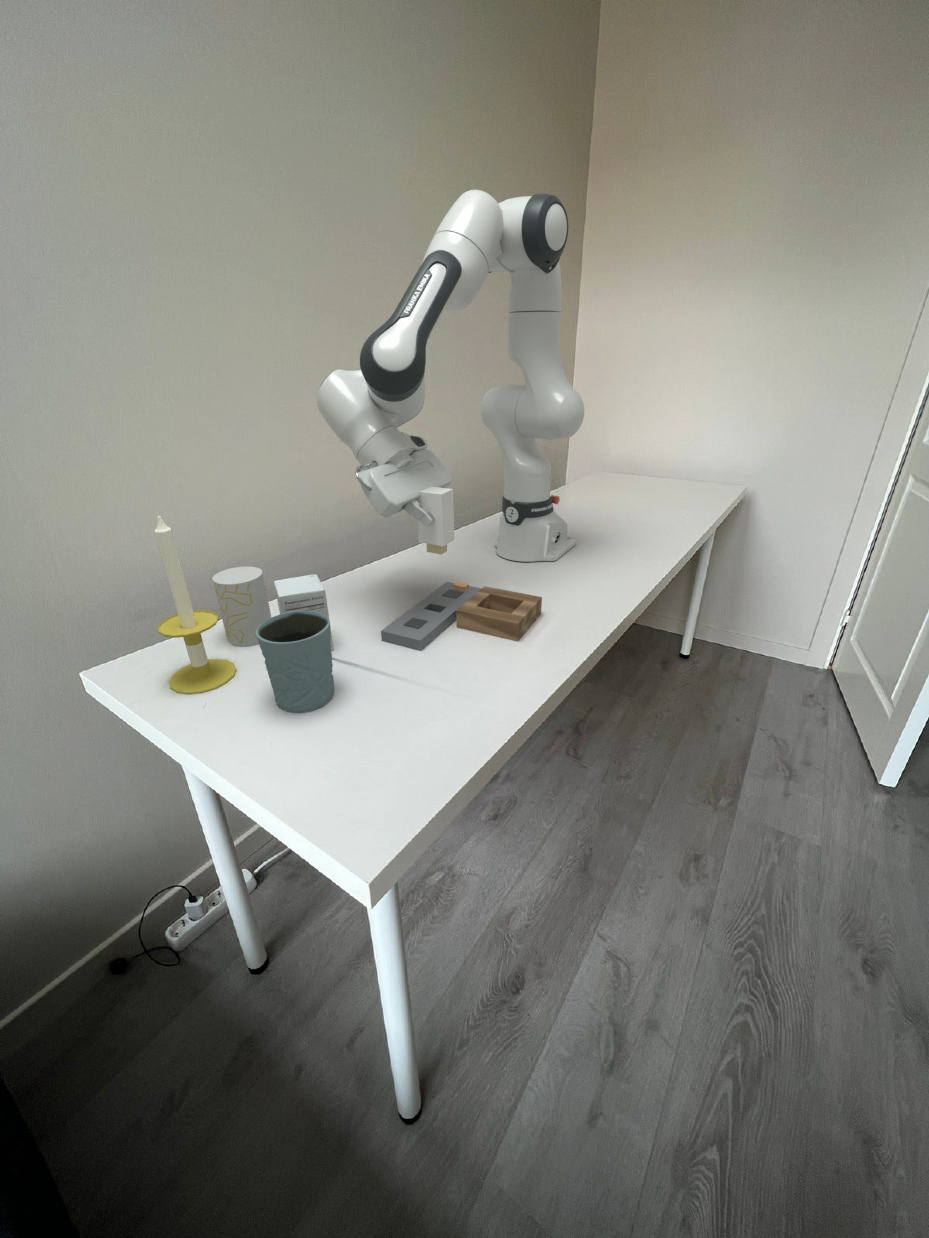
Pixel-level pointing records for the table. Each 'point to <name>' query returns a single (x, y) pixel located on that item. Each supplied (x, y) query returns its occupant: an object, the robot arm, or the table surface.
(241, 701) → the table surface
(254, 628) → the cup
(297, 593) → the supplement box
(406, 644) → the power strip
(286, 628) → the teal plant pot
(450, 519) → the white rectangular block
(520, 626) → the square wooden tray
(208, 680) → the candle
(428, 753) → the table surface
